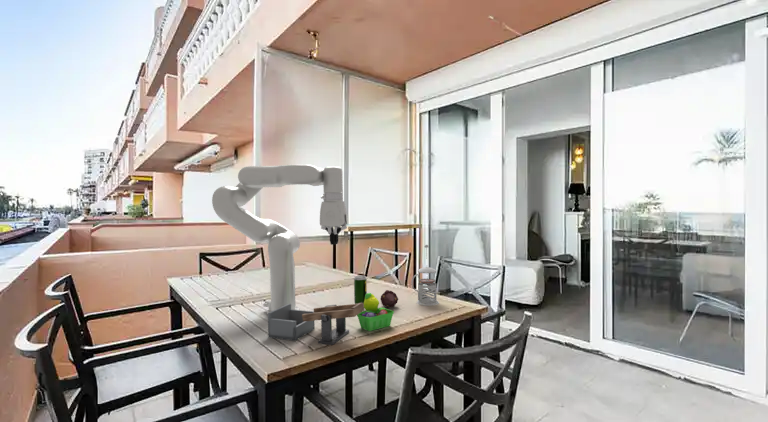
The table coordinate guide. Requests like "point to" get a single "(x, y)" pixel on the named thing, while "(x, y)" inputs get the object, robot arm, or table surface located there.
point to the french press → (423, 298)
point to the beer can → (360, 289)
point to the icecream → (389, 299)
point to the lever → (334, 311)
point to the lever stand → (326, 330)
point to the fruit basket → (374, 314)
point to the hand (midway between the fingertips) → (334, 244)
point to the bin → (288, 323)
